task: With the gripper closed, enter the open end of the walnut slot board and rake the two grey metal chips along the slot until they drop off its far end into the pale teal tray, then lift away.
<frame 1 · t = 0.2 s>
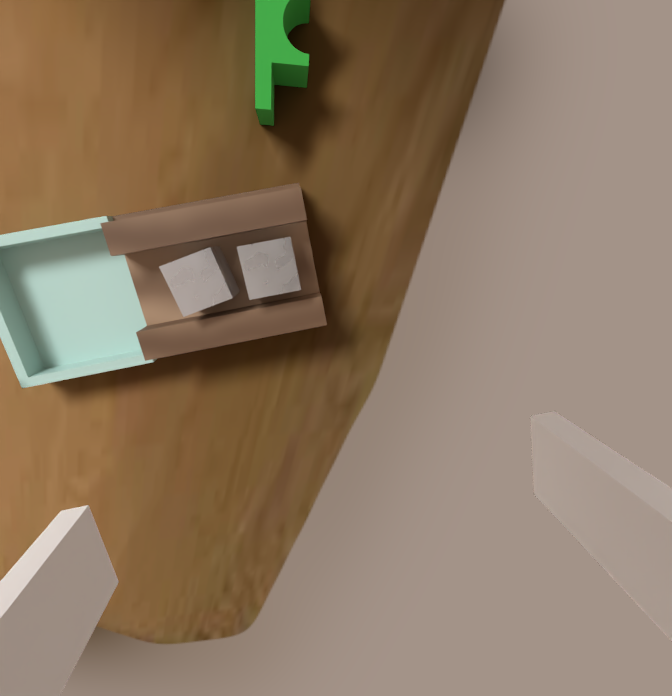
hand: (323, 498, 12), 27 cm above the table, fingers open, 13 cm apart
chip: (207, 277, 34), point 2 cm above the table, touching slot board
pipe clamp: (282, 51, 32), on the table
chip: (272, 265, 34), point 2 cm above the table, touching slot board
slot board: (229, 272, 36), on the table
tray: (81, 300, 35), on the table
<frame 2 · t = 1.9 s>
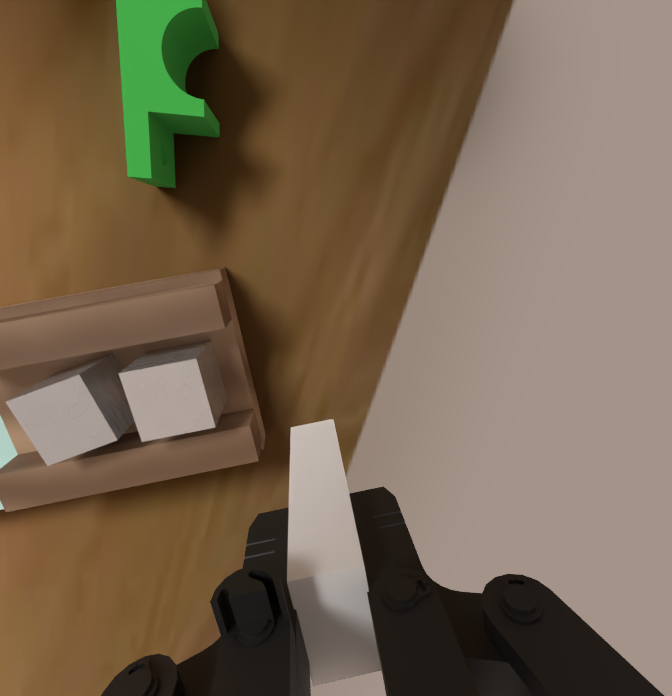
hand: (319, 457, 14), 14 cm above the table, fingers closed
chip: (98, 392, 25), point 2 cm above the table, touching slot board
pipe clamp: (184, 87, 23), on the table
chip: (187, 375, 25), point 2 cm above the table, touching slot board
slot board: (134, 377, 27), on the table
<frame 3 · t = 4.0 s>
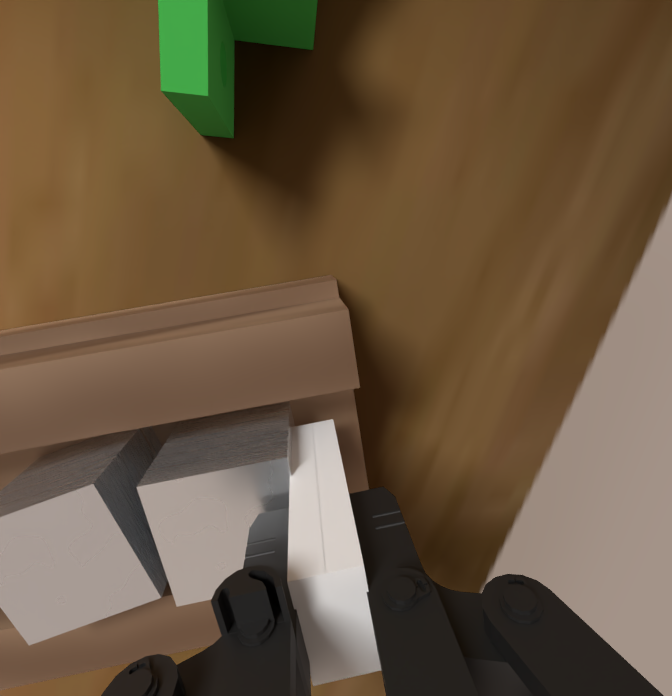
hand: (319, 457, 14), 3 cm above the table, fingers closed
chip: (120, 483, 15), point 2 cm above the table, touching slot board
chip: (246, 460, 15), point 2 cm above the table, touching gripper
slot board: (176, 448, 17), on the table
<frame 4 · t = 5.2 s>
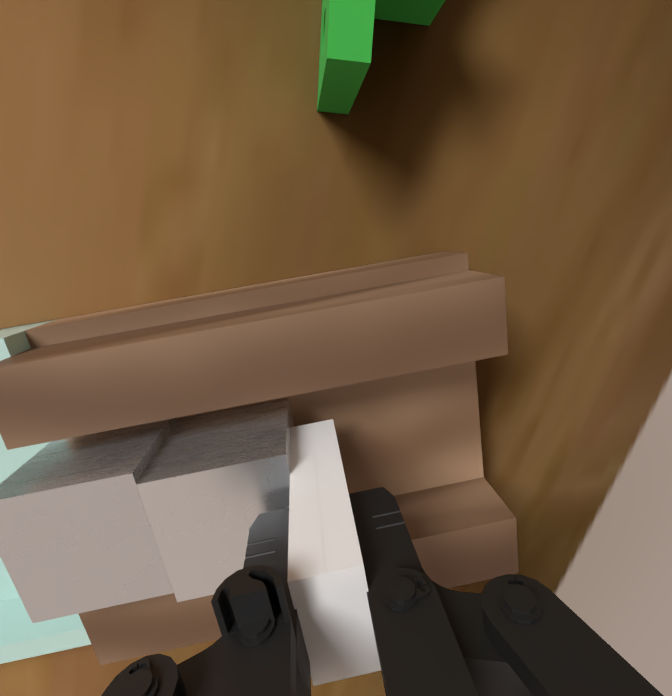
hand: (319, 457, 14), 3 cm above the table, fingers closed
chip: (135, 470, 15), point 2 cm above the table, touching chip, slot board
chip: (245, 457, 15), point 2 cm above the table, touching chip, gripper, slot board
slot board: (287, 424, 17), on the table
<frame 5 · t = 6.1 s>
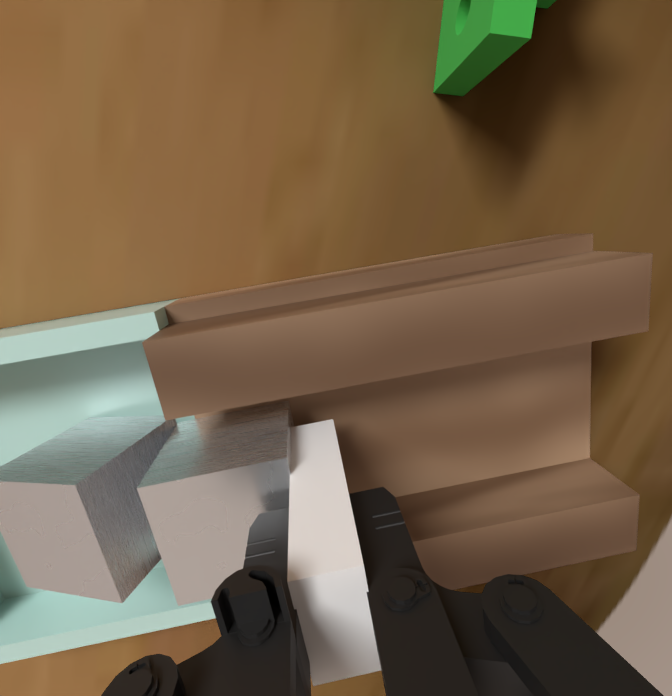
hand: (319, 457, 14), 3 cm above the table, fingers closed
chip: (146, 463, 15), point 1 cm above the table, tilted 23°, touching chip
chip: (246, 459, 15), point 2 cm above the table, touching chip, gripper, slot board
slot board: (392, 405, 17), on the table
tray: (84, 464, 17), on the table
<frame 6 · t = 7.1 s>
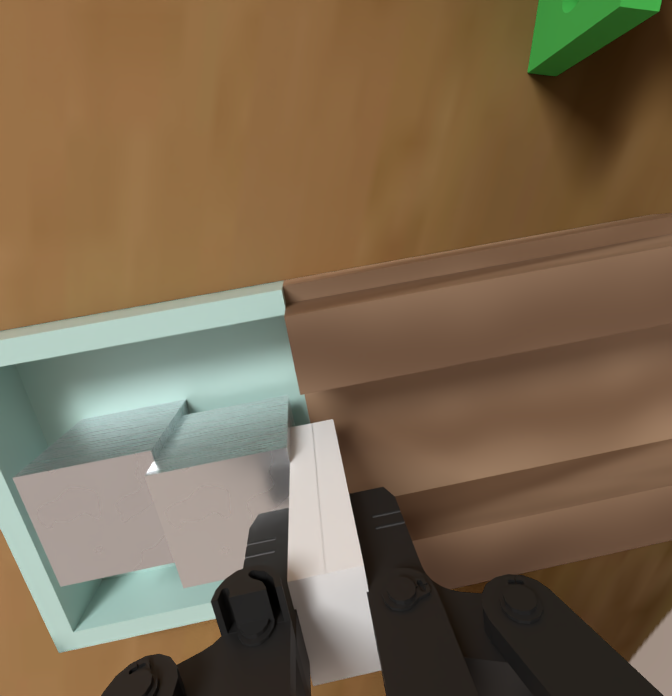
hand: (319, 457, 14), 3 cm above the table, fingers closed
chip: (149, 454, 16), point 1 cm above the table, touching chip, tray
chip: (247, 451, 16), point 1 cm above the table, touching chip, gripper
slot board: (482, 387, 18), on the table
tray: (182, 446, 17), on the table
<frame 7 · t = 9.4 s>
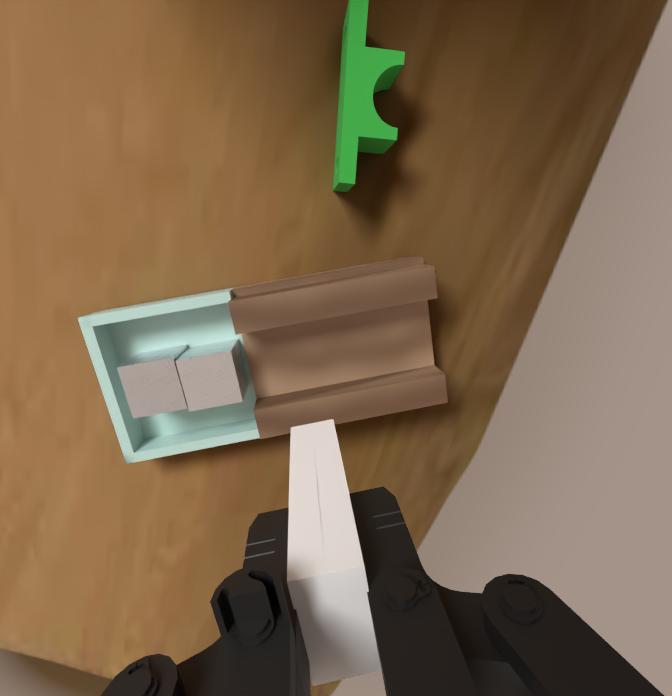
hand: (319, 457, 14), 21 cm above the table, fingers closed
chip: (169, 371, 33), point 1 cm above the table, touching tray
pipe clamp: (359, 117, 31), on the table
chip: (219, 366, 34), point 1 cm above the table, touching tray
slot board: (338, 341, 35), on the table
tray: (186, 369, 34), on the table
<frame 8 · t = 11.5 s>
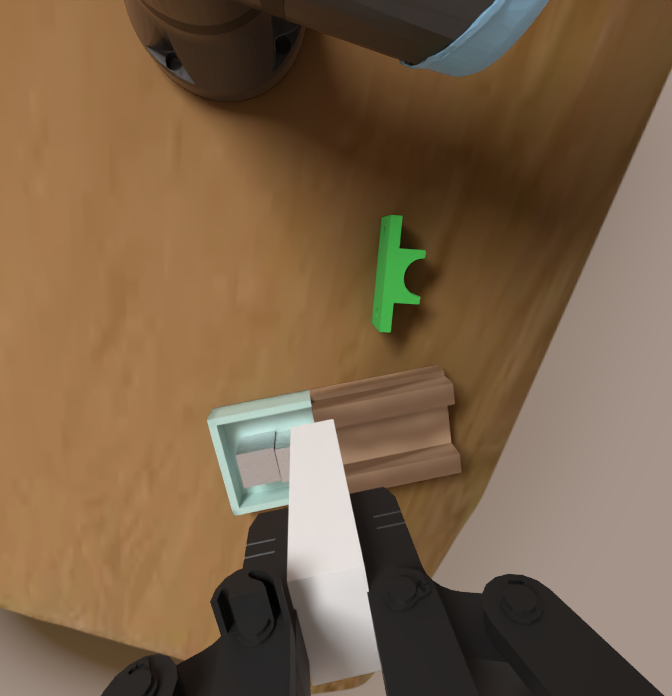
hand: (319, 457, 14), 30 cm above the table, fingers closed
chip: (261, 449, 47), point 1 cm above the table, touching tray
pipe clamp: (391, 273, 44), on the table
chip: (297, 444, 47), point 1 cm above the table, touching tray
slot board: (381, 424, 48), on the table
tray: (272, 446, 47), on the table
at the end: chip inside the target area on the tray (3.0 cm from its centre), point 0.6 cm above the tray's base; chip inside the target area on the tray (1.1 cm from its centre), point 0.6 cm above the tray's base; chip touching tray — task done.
